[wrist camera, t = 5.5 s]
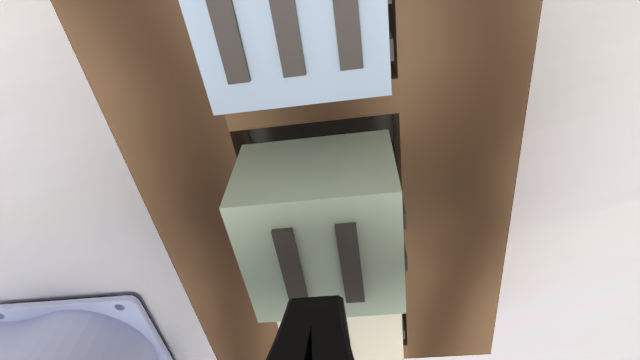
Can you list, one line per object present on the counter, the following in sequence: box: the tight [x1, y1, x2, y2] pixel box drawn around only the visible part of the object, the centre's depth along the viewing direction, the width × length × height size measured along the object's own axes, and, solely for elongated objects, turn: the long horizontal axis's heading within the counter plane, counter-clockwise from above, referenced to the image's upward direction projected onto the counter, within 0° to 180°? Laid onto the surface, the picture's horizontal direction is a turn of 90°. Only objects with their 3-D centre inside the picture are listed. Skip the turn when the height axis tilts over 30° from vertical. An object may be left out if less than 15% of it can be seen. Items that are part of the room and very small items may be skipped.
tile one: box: [277, 314, 405, 360], centre depth 20 cm, size 5×5×4 cm
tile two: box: [219, 129, 408, 323], centre depth 14 cm, size 5×5×4 cm
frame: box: [50, 0, 543, 360], centre depth 17 cm, size 14×22×2 cm, turn 8°
